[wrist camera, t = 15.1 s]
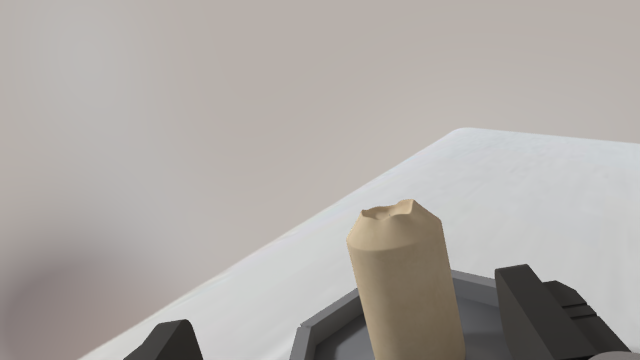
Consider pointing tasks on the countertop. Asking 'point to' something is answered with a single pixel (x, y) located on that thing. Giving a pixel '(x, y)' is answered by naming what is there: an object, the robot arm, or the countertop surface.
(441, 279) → the candle
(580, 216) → the countertop surface
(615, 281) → the countertop surface
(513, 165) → the countertop surface
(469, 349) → the saucer
